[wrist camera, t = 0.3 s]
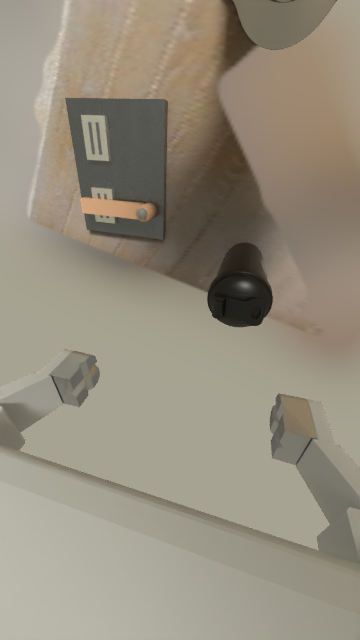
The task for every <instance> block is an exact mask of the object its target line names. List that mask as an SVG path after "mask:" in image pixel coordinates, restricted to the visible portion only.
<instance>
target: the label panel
mask: <svg viewBox="0 0 360 640" xmlns="http://www.w3.org/2000/svg"><path fill="white" fill-rule="evenodd" d="M65 99H66V105H67V111H68V117H69V123H70V129H71V135H72V142H73V148H74V154H75V160H76V166H77V172H78V178H79V184H80V190H81V196H82V198H83V197H89V198H99V199H108V200H118V201H128V202H137V203H144V204H145V203H149V202H150V203H153V204H154V205H155V206H156V209H157V214H156V216H155V217H154V218H152V219H150V220H148V221H146V222H142V221H140V220H138V219H129V218H121V217H112V216H104V215H95V214H87V213H84V214H85V220H86V226H87V230H93V231H100V232H108V233H116V234H123V235H131V236H138V237H146V238H153V239H161V240H163V239H165V214H166V161H167V107H168V101H166V100H165V99H98V98H65Z"/></svg>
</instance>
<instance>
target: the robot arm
mask: <svg viewBox="0 0 360 640" xmlns="http://www.w3.org/2000/svg"><path fill="white" fill-rule="evenodd" d="M232 1H233V2H234V4H235V6H236V9H237V12H238V15H239V19H240V22H241V24H242V27H243V29H244V30H245V32H246V34H247V35H248V37H249V38H250V39H251V40H252V41H253V42H254V43H256V44H257V45H259V46H261V47H263V48H266V49H271V50H278V49H284V48H287V47H290V46H292V45H294V44H296V43H298V42H299V41H301V40H303V39H304V38H305V37H306V36H308V35H309V34H310V33H311V32H312V31H313V30H314V29H315V28H316V27H317V26H318V25H319V24H320V23H321V22H322V20H323V19H324V18H325V16H326V15H327V14H328V12H329V11H330V9H331V8H332V6H333V5H334V4H335V2H336V1H337V0H232ZM96 362H97V360H96V357H95V356H93V355H90V354H85V353H81V352H77V351H72V350H68V349H64V350H62V351H61V352H60V353H59V354H58V355H56V356H55V357H54V358H53V359H52V360H51V361H50V362H49V363H48V364H47V365H46V366H45V367H44V368H43V369H42V370H40V371H39V372H38V373H37V372H34V373H32V374H30V375H27V376H25V377H23V378H20V379H18V380H15V381H13V382H11V383H8V384H6V385H4V386H1V387H0V640H360V467H359V466H358V465H357V464H356V463H355V462H354V460H353V459H352V458H351V457H350V456H349V455H348V454H347V453H346V452H345V450H344V449H343V448H342V447H341V446H340V445H337V444H335V442H334V439H333V436H332V433H331V429H330V426H329V423H328V419H327V416H326V413H325V410H324V406H323V404H322V403H321V402H318V401H313V400H308V399H304V398H299V397H294V396H289V395H284V394H278V395H277V397H276V405H275V406H273V408H272V411H271V416H270V430H271V432H272V433H273V437H272V440H271V450H272V458H273V459H277V460H280V461H284V462H287V463H291V464H294V465H296V467H297V469H298V471H299V472H300V474H301V476H302V477H303V479H304V481H305V482H306V484H307V486H308V488H309V489H310V491H311V493H312V494H313V496H314V498H315V500H316V501H317V503H318V505H319V506H320V508H321V509H322V511H323V513H324V515H325V516H326V518H327V520H328V522H329V523H330V525H329V526H328V527H327V528H326V529H325V530H324V531H323V532H322V533H321V534H319V535H318V536H317V542H318V548H319V551H318V550H315V549H312V548H309V547H306V546H303V545H300V544H297V543H294V542H291V541H288V540H285V539H282V538H279V537H276V536H273V535H270V534H267V533H264V532H261V531H258V530H255V529H252V528H249V527H246V526H243V525H240V524H237V523H234V522H231V521H228V520H225V519H222V518H219V517H216V516H213V515H210V514H207V513H204V512H201V511H198V510H195V509H192V508H189V507H186V506H183V505H179V504H177V503H173V502H171V501H168V500H165V499H162V498H159V497H156V496H153V495H150V494H147V493H144V492H141V491H138V490H135V489H132V488H129V487H126V486H123V485H120V484H117V483H114V482H111V481H108V480H104V479H102V478H99V477H96V476H92V475H90V474H87V473H84V472H81V471H78V470H75V469H72V468H69V467H66V466H63V465H60V464H57V463H53V462H51V461H48V460H45V459H42V458H39V457H36V456H33V455H30V454H27V453H24V452H21V451H19V450H20V449H21V447H22V446H23V445H24V444H25V439H24V438H23V436H22V435H21V433H20V432H22V431H23V430H25V429H26V428H28V427H29V426H31V425H32V424H34V423H35V422H37V421H38V420H40V419H41V418H43V417H45V416H46V415H47V414H49V413H51V412H52V411H53V410H55V409H57V408H58V407H60V406H61V405H63V403H65V404H69V405H73V406H77V407H80V406H81V404H82V403H83V402H84V400H85V399H86V398H87V396H88V390H90V389H92V388H94V387H95V385H96V383H97V382H98V379H99V375H100V372H99V368H98V367H97V366H96V365H95V363H96Z"/></svg>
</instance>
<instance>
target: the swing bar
mask: <svg viewBox="0 0 360 640" xmlns="http://www.w3.org/2000/svg"><path fill="white" fill-rule="evenodd" d="M80 200H81V206H82V212H83V213H87V214H95V215H104V216H112V217H121V218H129V219H138V220H140V221H142V222H146V221H148V220H150V219H152V218H154V217H155V216H156V214H157V209H156V206H155V205H154V204H153V203H150V202H149V203H145V204H144V203H137V202H128V201H118V200H108V199H99V198H89V197H83V198H80Z"/></svg>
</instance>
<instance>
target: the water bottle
mask: <svg viewBox="0 0 360 640" xmlns="http://www.w3.org/2000/svg"><path fill="white" fill-rule="evenodd" d="M207 300H208V306H209V309H210V311H211V312H212V316H213V317H214V318H217V319H218V320H219V321H220V322H222V323H224V324H226V325H229V326H233V327H247V326H258V325H260V324H261V322H262V320H263V318H264V317H266V315H267V314H268V313H269V311H270V309H271V306H272V301H273V297H272V290H271V286H270V285H269V283H268V281H267V276H266V272H265V267H264V263H263V259H262V255H261V252H260V251H259V249H258V248H257V247H255V246H254V245H252V244H249V243H241V244H237V245H235V246H233V247H232V248H231V249H230V250H229V251H228V252H227V254H226V256H225V259H224V261H223V263H222V266H221V268H220V270H219V273H218V275H217V277H216V278H215V280H214V281H213V282H212V284H211V286H210V289H209V292H208V299H207Z"/></svg>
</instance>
